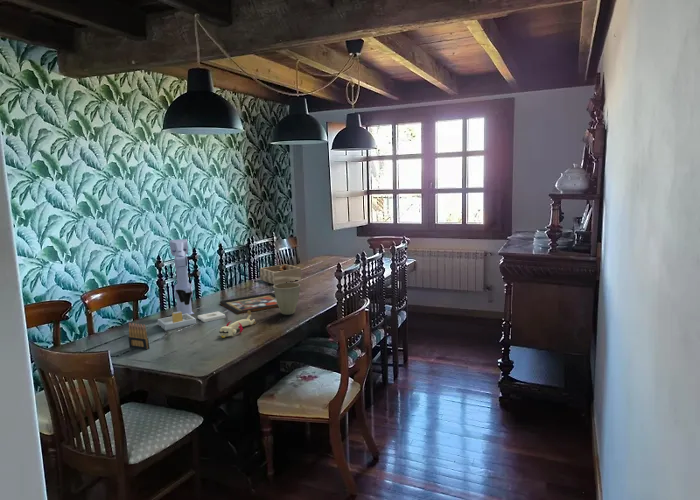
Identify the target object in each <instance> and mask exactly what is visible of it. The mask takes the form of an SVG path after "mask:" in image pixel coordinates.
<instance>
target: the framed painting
mask: <svg viewBox="0 0 700 500" xmlns="http://www.w3.org/2000/svg"><path fill="white" fill-rule="evenodd" d="M219 304H220V305H221V306H222V307H225V308H226V309H228V310H230V311H231V312H233V313H234V314H236V315H240V314H241V315H242V314H246V313H247V311H250V312H251V313H255V312H256V313H257V312H260V311H266V310H270V309H277V308H279V306H278V304H277V301H276V297H275V293H274V292H268V293H260V294H255V295H250V296H249V295H248V296H243V297H242V296H241V297H237V298H231V299H224V300H220V301H219ZM247 314H248V313H247Z"/></svg>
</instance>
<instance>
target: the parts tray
mask: <svg viewBox="0 0 700 500" xmlns="http://www.w3.org/2000/svg"><path fill="white" fill-rule="evenodd" d="M182 318H183V321H180V322H175V323H173V320H172V316H168V317H167V316H166V317H163V318H157V324H158V326H159V327H160V326H161V327H160V328H161V329H163V330H164V331H165V332H167V331H171V330H174V329H178V328H182V327H187V326H191V325H196V324H197V318H195V317H194V316H192V314H190V315H189V314H188V313H187V314H182Z"/></svg>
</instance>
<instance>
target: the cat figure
mask: <svg viewBox="0 0 700 500" xmlns="http://www.w3.org/2000/svg"><path fill="white" fill-rule="evenodd" d="M252 314H253V313H252V312H250V311H247V318H244V319H239V320H236V321H234V322H232V323H231V321H229V322H227V323H226V325H225V326H221V328H220V329H219V331H218V333H220V334H219V336H220V337H221V338H223V339H224V338H227V337H233V336H235V334H237V330H238V329H239V334H241V333H242V332H243V331H244V328H243V327H247V326H251V325H255V324H257V321H256V319H254V318H253V319H252V320H251V319H250V318H251V316H252Z"/></svg>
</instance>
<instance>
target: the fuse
mask: <svg viewBox="0 0 700 500" xmlns="http://www.w3.org/2000/svg"><path fill="white" fill-rule="evenodd" d="M171 317H172V320H173V323H175V322H180V321H183V318H182V312H180V311H179V312H177V311H174V312H172V313H171Z"/></svg>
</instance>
